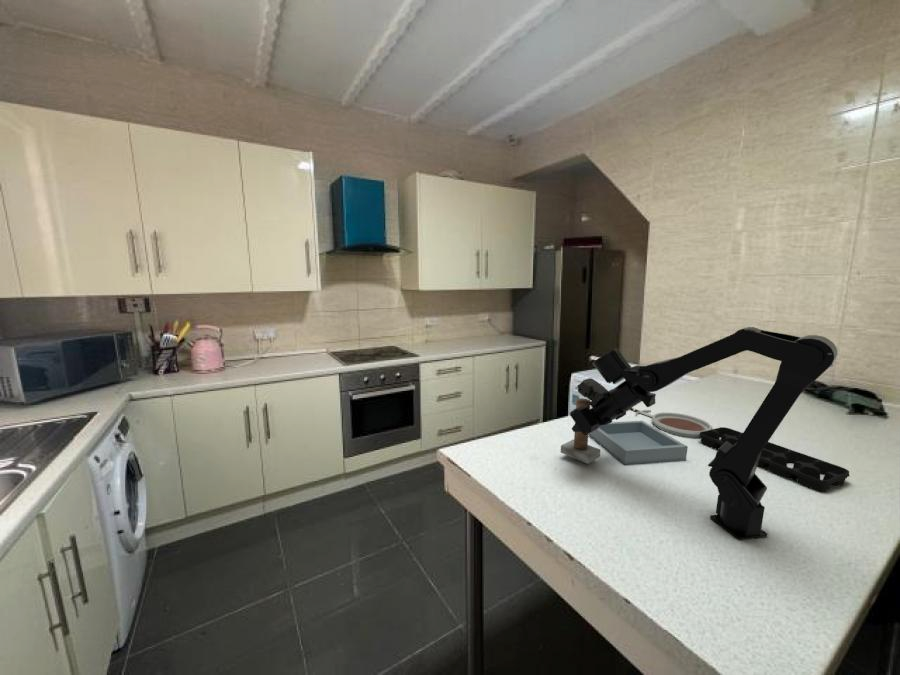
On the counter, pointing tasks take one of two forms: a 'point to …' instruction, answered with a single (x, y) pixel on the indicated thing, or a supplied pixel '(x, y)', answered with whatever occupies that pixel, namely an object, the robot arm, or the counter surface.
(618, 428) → the tray
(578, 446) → the brown post on plinth
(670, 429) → the frying pan
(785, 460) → the egg carton
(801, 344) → the robot arm
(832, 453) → the counter surface
